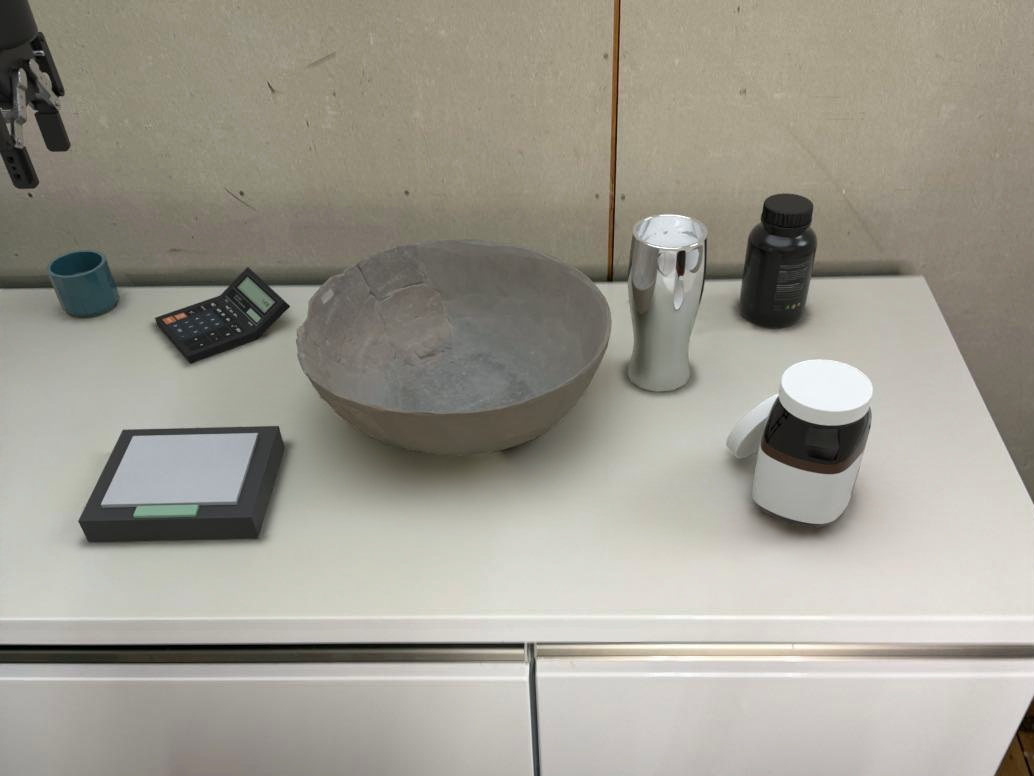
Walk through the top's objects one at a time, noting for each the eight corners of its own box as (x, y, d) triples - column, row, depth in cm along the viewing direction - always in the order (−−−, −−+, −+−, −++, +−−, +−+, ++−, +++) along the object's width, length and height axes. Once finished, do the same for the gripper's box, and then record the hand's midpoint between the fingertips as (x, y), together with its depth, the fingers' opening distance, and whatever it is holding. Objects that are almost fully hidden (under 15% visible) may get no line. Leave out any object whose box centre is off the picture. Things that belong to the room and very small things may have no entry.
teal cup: (55, 319, 104) (37, 277, 100) (74, 291, 108) (58, 250, 105) (111, 318, 104) (95, 276, 100) (127, 290, 108) (112, 249, 105)
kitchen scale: (88, 542, 79) (75, 517, 77) (131, 450, 87) (121, 425, 85) (258, 538, 78) (250, 513, 77) (284, 446, 87) (278, 422, 85)
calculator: (157, 324, 103) (148, 299, 100) (257, 290, 107) (251, 265, 105) (190, 363, 97) (181, 338, 95) (294, 325, 102) (288, 300, 100)
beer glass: (643, 402, 91) (653, 256, 80) (610, 364, 95) (616, 221, 85) (707, 384, 93) (725, 239, 82) (672, 348, 97) (685, 206, 87)
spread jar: (827, 551, 76) (858, 435, 68) (695, 506, 80) (709, 391, 72) (869, 465, 83) (901, 351, 75) (746, 428, 88) (764, 316, 79)
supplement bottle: (810, 302, 103) (831, 194, 95) (795, 334, 99) (815, 224, 90) (747, 290, 105) (763, 183, 97) (730, 321, 101) (745, 212, 92)
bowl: (372, 314, 103) (358, 227, 96) (627, 338, 99) (631, 248, 92) (270, 478, 84) (243, 384, 77) (580, 517, 79) (582, 420, 72)
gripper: (-35, -39, 87) (34, 140, 99) (-111, 7, 77) (-25, 201, 88) (46, -41, 87) (106, 138, 99) (-19, 5, 77) (56, 200, 88)
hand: (44, 168), depth 94 cm, fingers open, 8 cm apart
